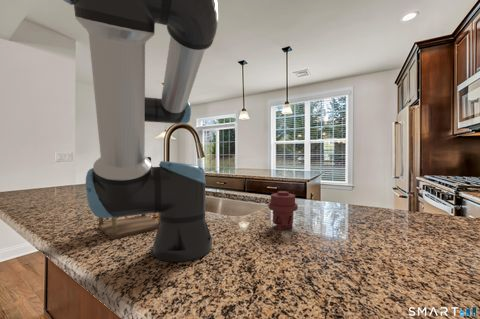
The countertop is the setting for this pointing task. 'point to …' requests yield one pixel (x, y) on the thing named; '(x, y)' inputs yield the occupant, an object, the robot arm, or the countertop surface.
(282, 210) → the mechanical component
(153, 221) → the pot stand
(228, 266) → the countertop surface
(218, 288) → the countertop surface
